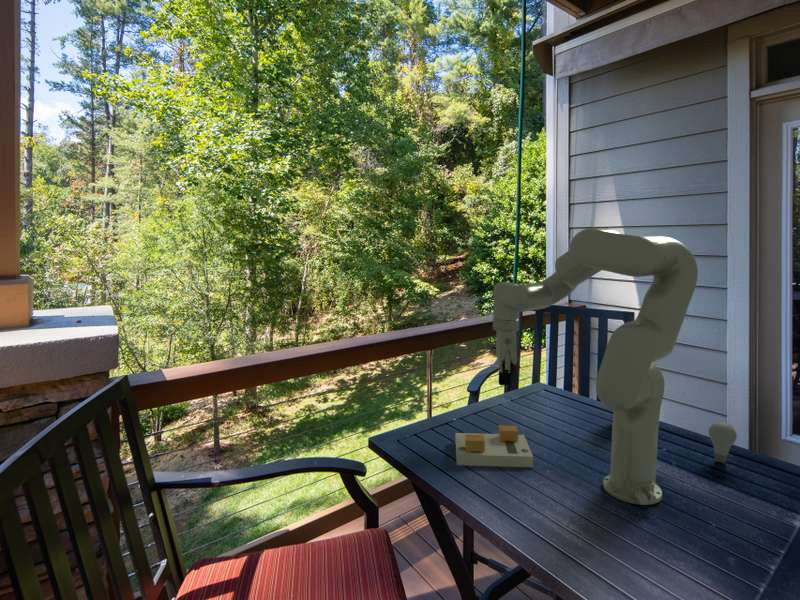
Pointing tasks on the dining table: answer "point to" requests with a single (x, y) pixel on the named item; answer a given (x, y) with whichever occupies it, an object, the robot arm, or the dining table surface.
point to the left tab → (475, 443)
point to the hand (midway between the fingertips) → (504, 384)
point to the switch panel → (494, 452)
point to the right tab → (508, 433)
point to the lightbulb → (722, 439)
